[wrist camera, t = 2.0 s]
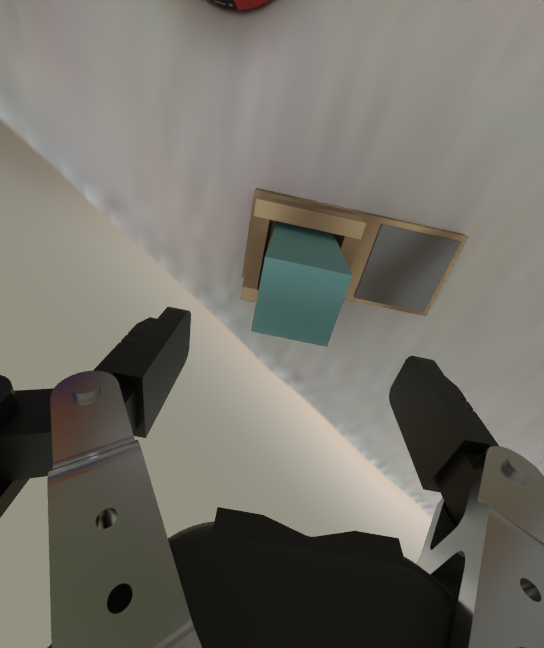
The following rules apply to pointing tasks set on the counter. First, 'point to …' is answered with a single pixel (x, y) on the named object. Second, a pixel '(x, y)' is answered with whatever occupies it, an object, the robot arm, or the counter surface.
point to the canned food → (238, 4)
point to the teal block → (301, 285)
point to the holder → (360, 251)
